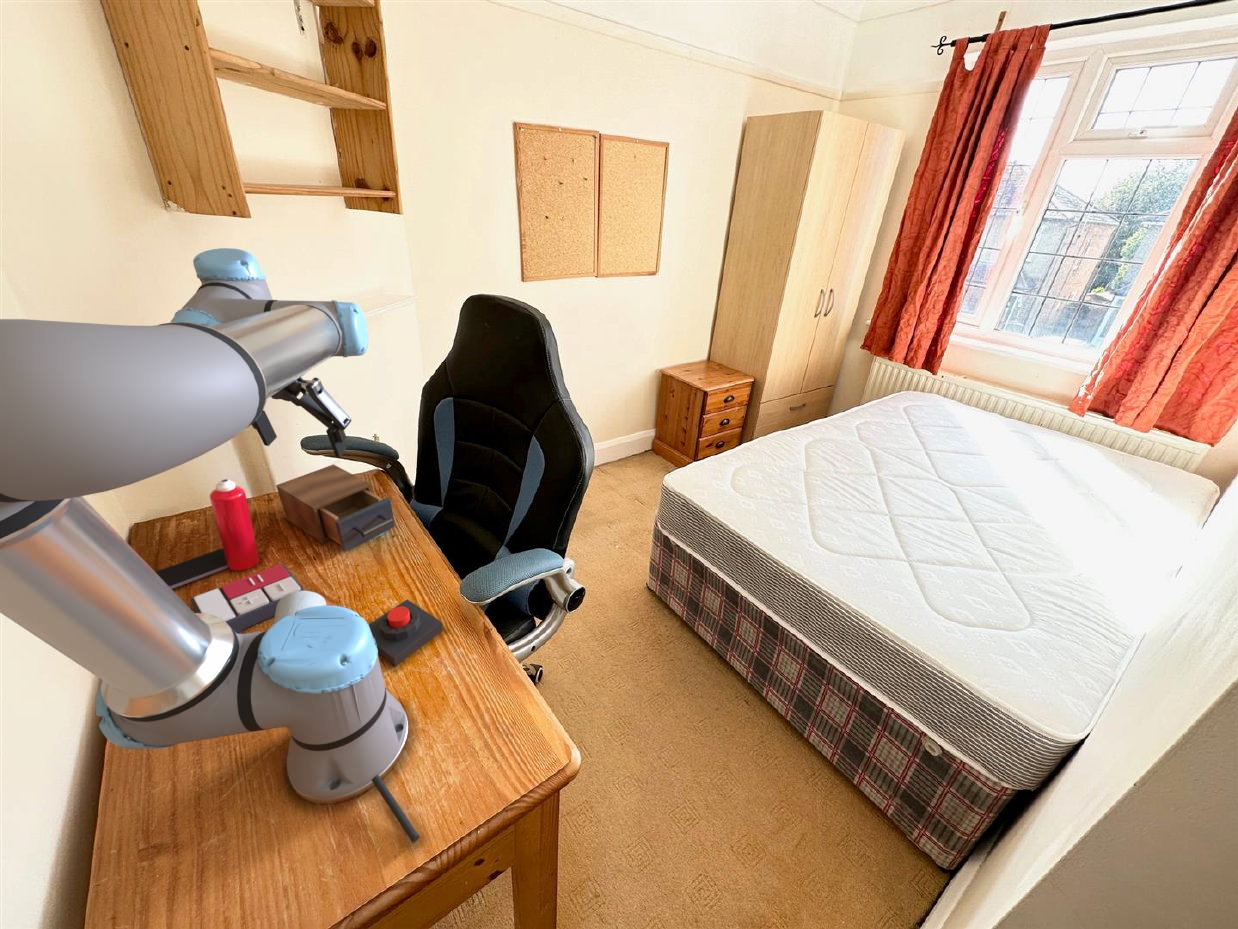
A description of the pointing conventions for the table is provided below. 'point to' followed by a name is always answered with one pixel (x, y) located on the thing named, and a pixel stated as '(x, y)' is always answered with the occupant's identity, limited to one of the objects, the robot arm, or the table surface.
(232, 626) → the calculator
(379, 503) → the drawer
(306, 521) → the cabinet
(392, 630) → the panel
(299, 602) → the ceramic mug
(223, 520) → the bottle
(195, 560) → the smartphone
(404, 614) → the button
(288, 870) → the table surface
